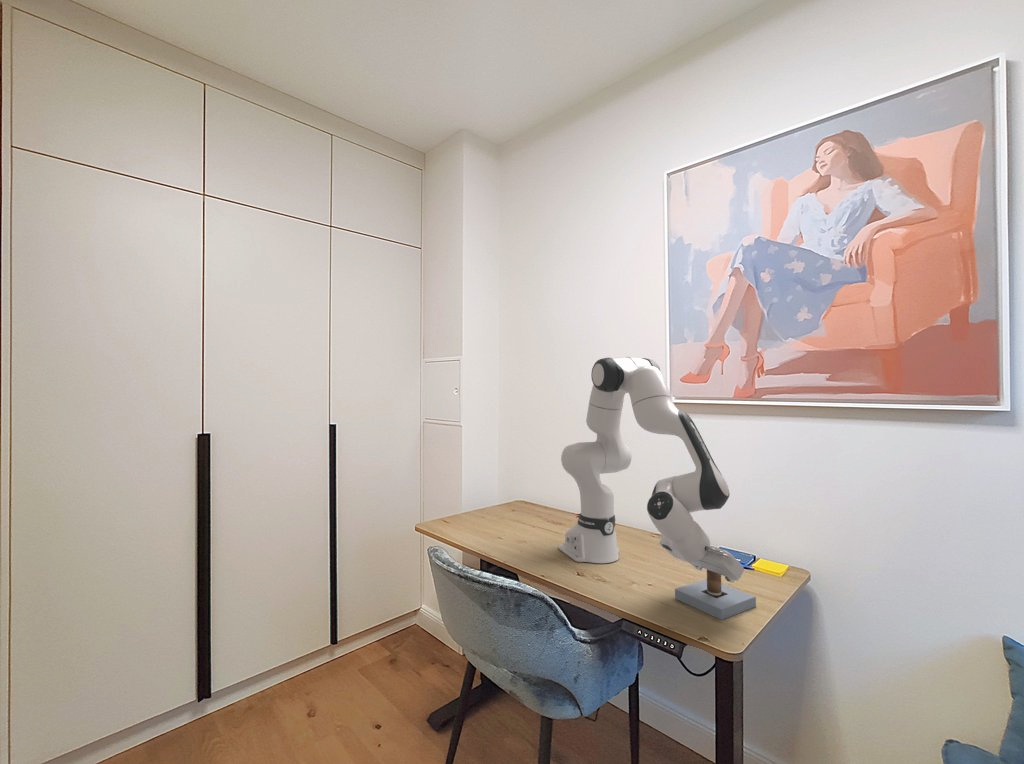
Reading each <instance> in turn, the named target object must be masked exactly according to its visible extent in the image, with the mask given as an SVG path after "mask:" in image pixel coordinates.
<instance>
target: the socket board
mask: <svg viewBox="0 0 1024 764" xmlns="http://www.w3.org/2000/svg"><path fill="white" fill-rule="evenodd" d="M721 591H722V597H719V598H715V597H713V596H710V595H708V594H707V578H705V579H702V580H699V581H696V582H693V583H689V584H687V585H683V586H679V587H677V588H674V599H675V600H677V601H680V602H682V603H684V604H686V605H688V606H690V607H693V608H694V609H697V610H699V611H701V612H704V613H705V614H707V615H710V616H712V617H714V618H717V620H718V619H719V620H721V621H723V620H725V619H728V618H730V617H733V616H736V615H737V614H740V613H743V612H746V611H749V610H751V609H753V608H755V607H757V597H756V596H754V595H752V594H749V593H747V592H745V591H742V590H740V589H737V588H735V587H732V586H730V585H727V584H724V583H723V582H721Z"/></svg>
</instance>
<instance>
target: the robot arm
mask: <svg viewBox="0 0 1024 764" xmlns="http://www.w3.org/2000/svg"><path fill="white" fill-rule="evenodd" d="M660 368H661V367H660V365H659V364H658V363H657V362H656V361H654V360H653V359H650V358H645V357H644V358H640V357H632V356H624V357H604V358H600V359H598V360H596V362H595V363H594V364H593V366H592V369H591V381H592V384H593V385H592V388H591V391H590V395H589V400H588V407H587V413H586V421H585V422H586V425H587V427H588V428H589V430H591V432H593V433H595V434H596V440H594V441H586V442H585V441H583V442H576V443H573V444H569V445H566V446H565V447H564V449H563V450H562V453H561V457H560V461H561V465H562V468H563V469H564V470H565V472H566V473H567V474H569V475H570V476H571V477H572V478H573V479H574V480H575V481H574V482H576V484H577V487H578V489H579V491H578V492H579V495H580V497H579V498H580V513H577V514H575V515H576V516H575V518H578V519H577V523H576V524H575V525H574V526H572V527H571V528H569V529H568V530H567V531H566V533H565V536H564V537H565V539H564V542H562V543H560V544H559V545H558V548H557V549H558V550H560V551H561V552H563V553H564V554H565V555H566V556H568V557H569V558H570V559H572V560H573V561H575V562H577V563H584V562H585V563H590V564H591V563H592V564H609V563H613V562H616V561H618V560H619V559H620V555H619V554H620V549H619V547H618V539H617V538H618V537H617V531H616V528H615V527H616V515H615V514H614V508H615V507H614V502H615V501H614V492H613V491H612V489H611V488H610V487H608V486H607V485H605V484H603V483H602V481H601V478H600V477H601V476H600V475H601V474H603V475H604V474H612V473H613V474H614V473H619V472H621V471H623V470H624V471H625V470H627V469H628V468H629V467H630V465H631V462H632V452H631V449H630V448H629V446H628V445H627V444H626V443H625V442H624V440H623V438H622V436H621V430H620V429H621V418H622V414H623V413H622V412H623V408H624V407H623V406H624V401H625V394H629V397H630V403H631V408H632V411H633V416H634V418H635V420H636V423H637V424H638V426H639V427H640V428H641V429H643V430H644V431H647V432H649V433H651V434H652V433H653V434H657V435H668V436H669V435H670V436H676V437H678V438H680V439H681V440H682V441H683V443H684V445H685V447H686V449H687V451H688V453H689V455H690V458H691V460H692V462H693V464H694V466H695V470H694V471H693V472H692V471H691V472H688V473H684V474H680V475H675V476H669V477H666V478H663V479H660V480H658V481H657V482H656V484H655V485H654V487H653V490H652V493H651V496H650V498H649V499H648V501H647V504H646V510H647V514H648V516H649V518H650V520H651V522H652V524H653V525H654V528H656V530H657V531H658V532H659V534H661V538H660V540H659V542H658V543H659V545H660V546H661V548H663V549H665V551H666V552H667V553H668V554H669V555H671V556H673V558H675V559H676V560H677V559H678V560H681V561H682V562H686V563H688V564H690V565H691V566H692V567H694V568H695V570H697V571H701V572H702V571H703V569H705V570H706V571H707V570H710V571H712V572H715V573H718V574H720V575H721V576H724V578H725V580H726V581H727V582H729V583H734V582H735V581H739V580H740V579H741V577H742V575H743V573H744V570H745V569H744V567H743V565H742V564H741V562H739V560H738V559H737V558H736V557H735V556H734V555H733V554H731V553H730V552H729V551H727V550H724V549H722V548H718V547H715V546H712V545H711V540H710V538H709V536H708V535H707V533H706V532H705V531H704V530H703V529H702V527H701V525H700V524H699V523H698V522H696V520H694V517H693V515H692V514H691V513H696V512H700V511H701V512H702V511H710V510H711V511H712V510H720V509H722V508H723V507H724V506H725V504H726V503H727V501H728V500H729V497H730V490H729V485H728V484H727V482H726V479H725V478H724V476H723V474H722V473H721V472H720V469H719V467H718V466H717V465H716V463H715V461H714V459H713V457H712V455H711V452H710V450H709V449H708V447H707V445H706V444H705V441H704V439H703V437H702V435H701V433H700V431H699V430H698V427H697V426H696V424H695V422H694V421H693V419H692V418H691V417H690V415H689V414H688V413H687V412H685V411H683V410H682V411H681V410H679V409H678V408H677V406H676V405H675V403H674V401H673V398H672V395H671V392H670V390H669V386H668V384H667V382H666V380H665V377H664V376H663V374H662V372H661V369H660Z"/></svg>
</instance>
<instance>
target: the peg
mask: <svg viewBox="0 0 1024 764" xmlns="http://www.w3.org/2000/svg"><path fill="white" fill-rule="evenodd" d="M706 579H707V594H708V595H710V596H713V597H715V598H719V597H722V591H721V583H722V575H720V574H718V573H715V572H712V571H710V570H707V569H706Z"/></svg>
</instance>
